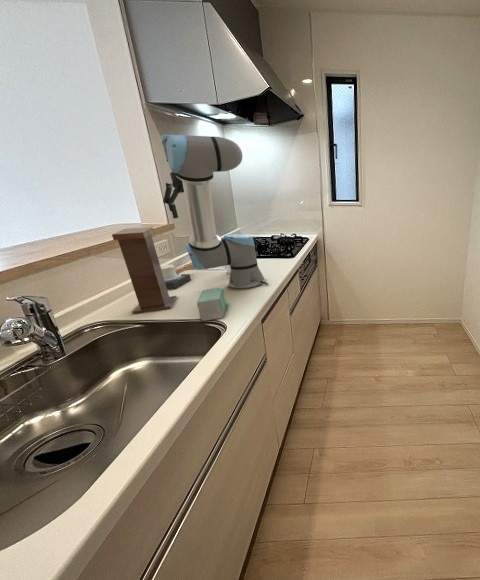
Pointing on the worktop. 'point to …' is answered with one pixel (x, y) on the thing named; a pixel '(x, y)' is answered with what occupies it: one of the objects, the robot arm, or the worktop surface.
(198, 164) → the robot arm
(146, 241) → the shelf stand
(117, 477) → the worktop surface
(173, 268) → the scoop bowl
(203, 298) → the box
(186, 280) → the kitchen scale
